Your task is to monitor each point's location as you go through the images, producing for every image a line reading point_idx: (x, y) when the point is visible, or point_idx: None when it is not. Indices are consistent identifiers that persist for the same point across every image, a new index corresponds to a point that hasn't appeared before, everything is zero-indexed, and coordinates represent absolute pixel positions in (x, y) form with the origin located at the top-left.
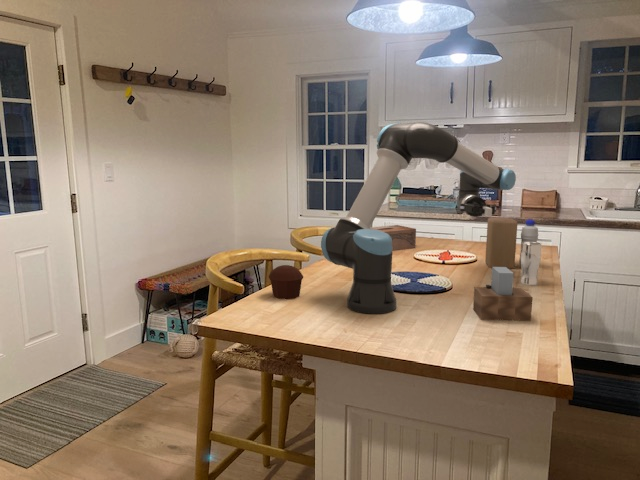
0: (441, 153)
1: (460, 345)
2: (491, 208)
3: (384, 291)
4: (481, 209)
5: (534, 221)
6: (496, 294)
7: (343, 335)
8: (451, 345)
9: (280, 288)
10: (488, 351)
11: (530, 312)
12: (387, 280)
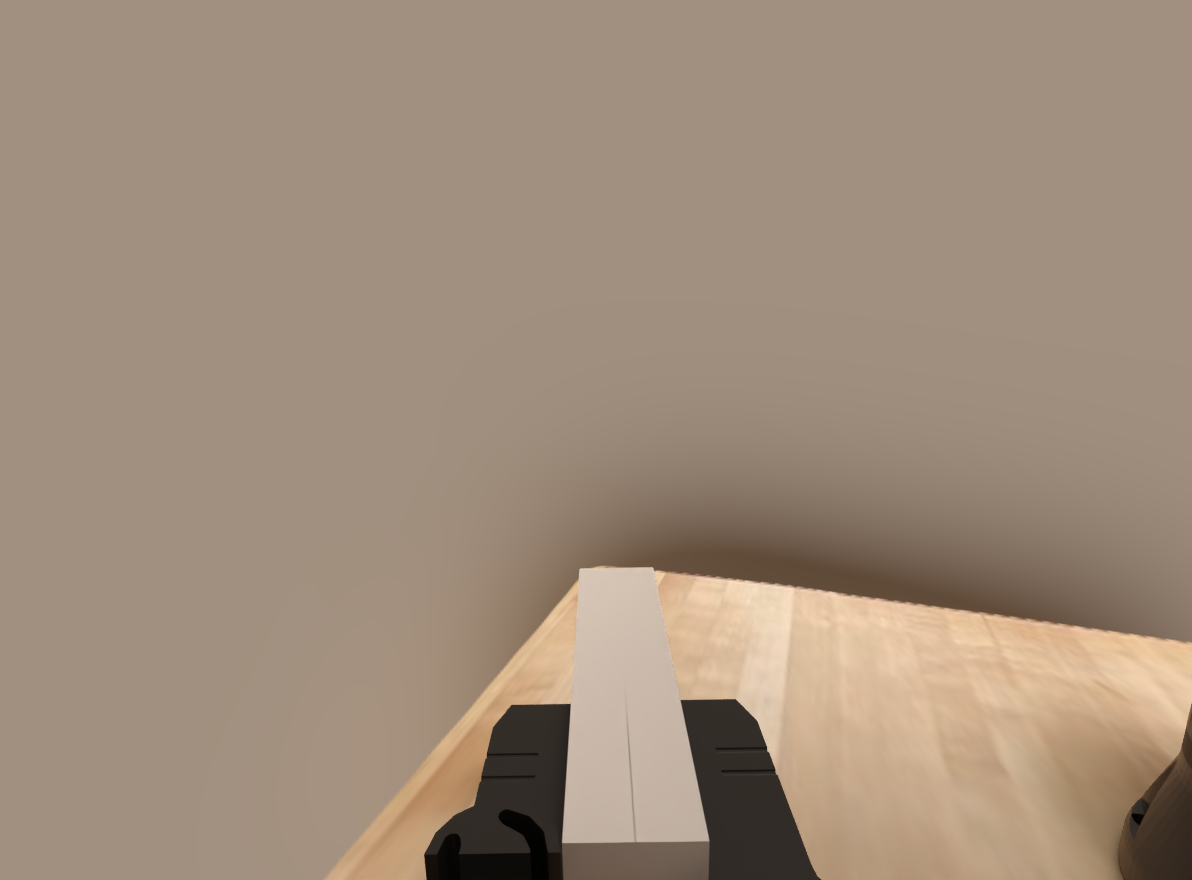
0: None
1: (765, 642)
2: (583, 579)
3: (1168, 766)
4: (745, 712)
5: None
6: None
7: (1083, 667)
8: (787, 641)
9: None
10: (702, 626)
11: None
12: (1185, 739)
